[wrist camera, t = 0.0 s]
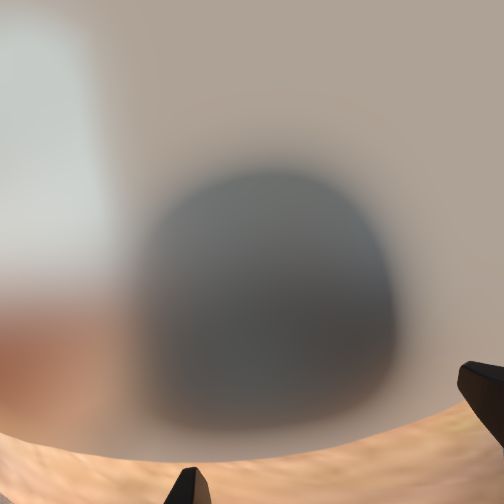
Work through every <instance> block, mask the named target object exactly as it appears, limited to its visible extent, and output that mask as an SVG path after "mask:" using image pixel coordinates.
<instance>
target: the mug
mask: <svg viewBox="0 0 504 504" xmlns="http://www.w3.org/2000/svg"><path fill="white" fill-rule="evenodd" d="M0 504H13V503H12V502H11V501H10V500H9V499H8V498H6V497H5V496H4V495H2V494H1V493H0Z"/></svg>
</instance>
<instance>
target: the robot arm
mask: <svg viewBox="0 0 504 504" xmlns="http://www.w3.org/2000/svg"><path fill="white" fill-rule="evenodd" d="M457 386H458V389H459V390H460V392H461V393H462V395H463V396H464V398H465V399H466V401H467V402H468V404H469V405H470V407H471V408H472V410H473V411H474V413H475V414H476V415H477V417H478V418H479V419H480V421H481V422H482V423H483V424H484V425H485V427H486V428H487V429H488V430H489V431H490V433H491V434H492V435H493V436H494V437H495V439H496V440H497V441H498V442H499V443H500V445H501V446H502V447H503V448H504V367H501V366H495V365H489V364H484V363H479V362H474V361H468V362H467V363H465V364H463V365H462V366H461V367H460V370H459V376H458V381H457ZM164 504H212V503H211V498H210V493H209V488H208V484H207V481H206V480H205V478H204V477H203V475H202V474H201V472H200V471H199V469H198V468H197V467H190V468H185V469H183V470H182V472H181V473H180V475H179V477H178V479H177V481H176V482H175V484H174V486H173V488H172V490H171V491H170V493H169V495H168V497H167V498H166V500H165V502H164Z"/></svg>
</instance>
